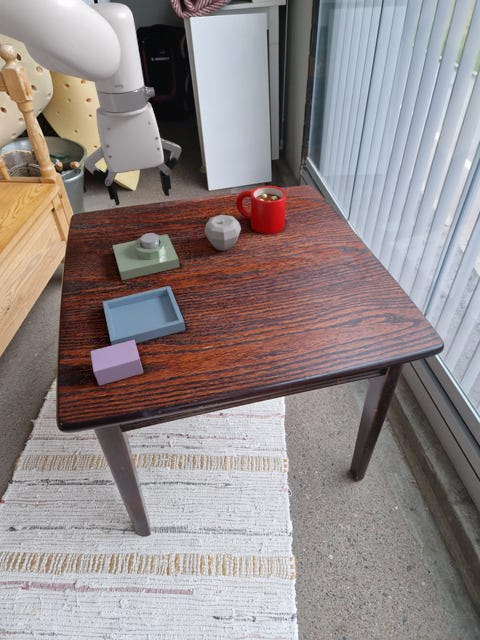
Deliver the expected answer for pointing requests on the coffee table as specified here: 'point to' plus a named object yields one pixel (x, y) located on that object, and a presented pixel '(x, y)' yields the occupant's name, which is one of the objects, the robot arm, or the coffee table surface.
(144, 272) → the green push button box
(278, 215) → the mug
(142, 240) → the grey push button
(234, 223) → the apple
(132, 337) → the soap dish
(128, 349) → the soap bar
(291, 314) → the coffee table surface
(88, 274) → the coffee table surface
